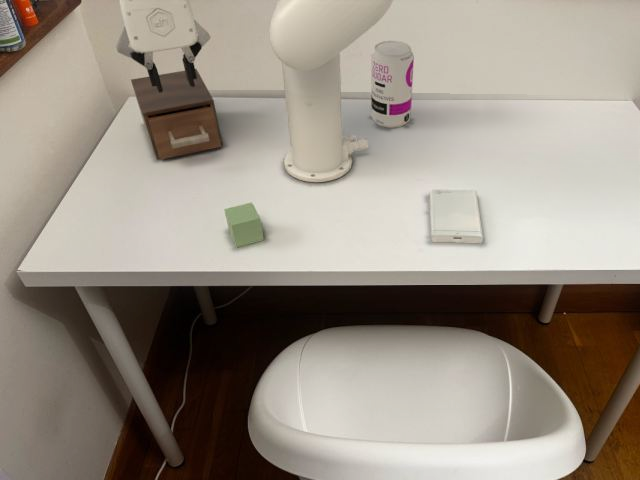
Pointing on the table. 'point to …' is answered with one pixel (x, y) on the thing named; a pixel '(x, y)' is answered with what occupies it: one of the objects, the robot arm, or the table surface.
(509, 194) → the table surface
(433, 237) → the hard drive
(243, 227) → the block
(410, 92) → the white soda can
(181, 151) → the drawer
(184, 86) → the cabinet
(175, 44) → the robot arm
